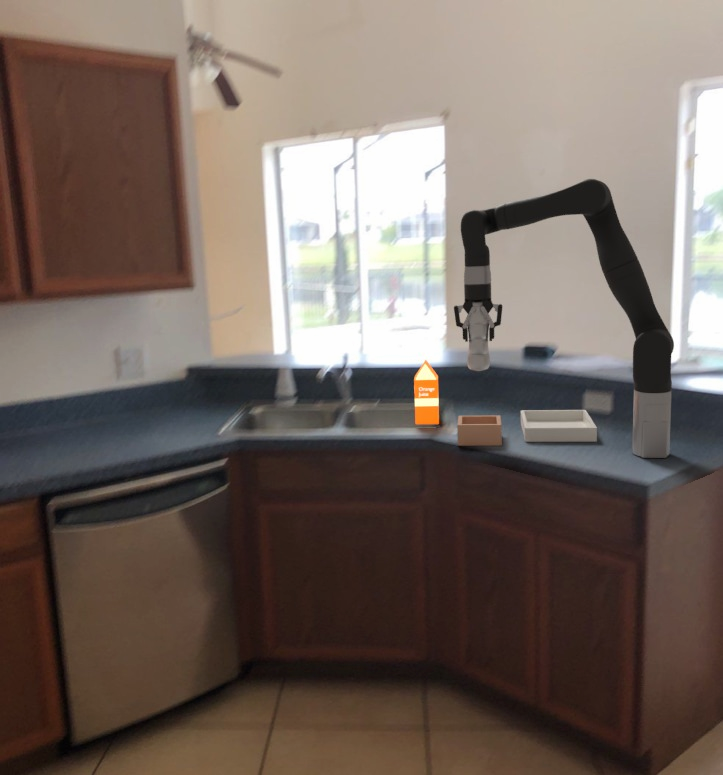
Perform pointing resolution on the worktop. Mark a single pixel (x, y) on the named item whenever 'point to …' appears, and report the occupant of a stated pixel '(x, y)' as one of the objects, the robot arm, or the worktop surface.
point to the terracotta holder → (479, 430)
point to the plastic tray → (558, 426)
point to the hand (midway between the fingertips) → (478, 340)
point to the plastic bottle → (478, 340)
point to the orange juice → (426, 395)
